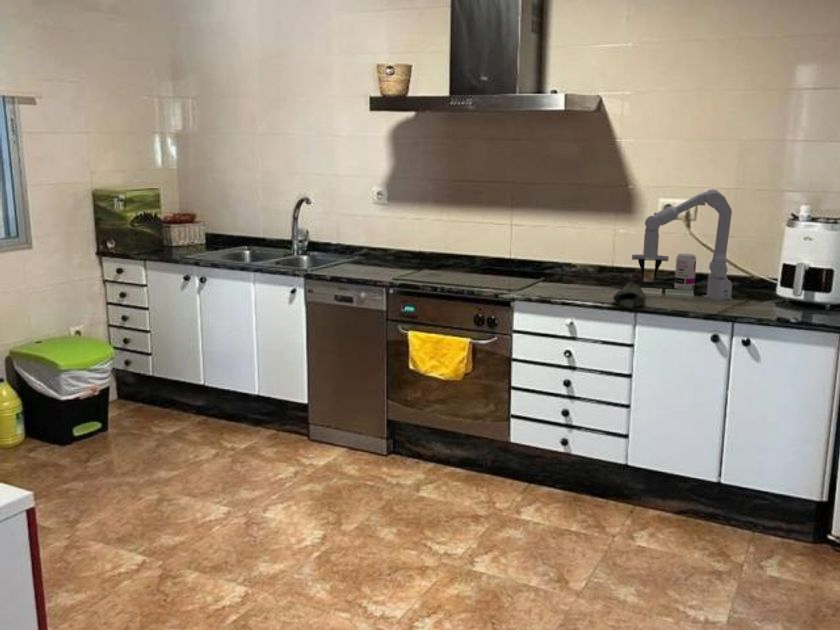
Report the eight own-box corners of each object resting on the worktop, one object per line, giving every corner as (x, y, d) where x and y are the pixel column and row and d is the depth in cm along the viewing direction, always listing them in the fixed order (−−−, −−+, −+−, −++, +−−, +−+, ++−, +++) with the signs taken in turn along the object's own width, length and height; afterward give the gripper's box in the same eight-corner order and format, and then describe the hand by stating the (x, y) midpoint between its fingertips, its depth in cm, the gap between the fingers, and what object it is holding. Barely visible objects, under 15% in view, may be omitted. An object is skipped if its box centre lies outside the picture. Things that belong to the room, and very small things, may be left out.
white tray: (661, 293, 348) (662, 288, 348) (661, 298, 338) (661, 293, 337) (634, 291, 351) (635, 287, 351) (633, 296, 341) (633, 292, 341)
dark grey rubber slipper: (644, 309, 317) (651, 296, 340) (644, 291, 315) (650, 279, 338) (609, 309, 322) (618, 296, 344) (609, 291, 320) (618, 279, 343)
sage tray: (692, 294, 345) (693, 290, 344) (693, 300, 334) (693, 295, 334) (665, 293, 348) (665, 289, 347) (665, 298, 337) (665, 294, 337)
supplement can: (693, 288, 359) (696, 254, 356) (694, 291, 351) (697, 256, 348) (674, 287, 361) (676, 253, 358) (674, 290, 353) (676, 256, 350)
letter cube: (653, 280, 345) (654, 270, 344) (653, 282, 341) (654, 272, 340) (643, 279, 346) (644, 270, 345) (643, 281, 342) (644, 271, 341)
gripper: (632, 245, 338) (630, 278, 341) (669, 247, 334) (666, 280, 337) (633, 243, 345) (631, 275, 348) (669, 244, 341) (667, 277, 344)
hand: (648, 277), depth 343 cm, fingers closed on letter cube, 4 cm apart
